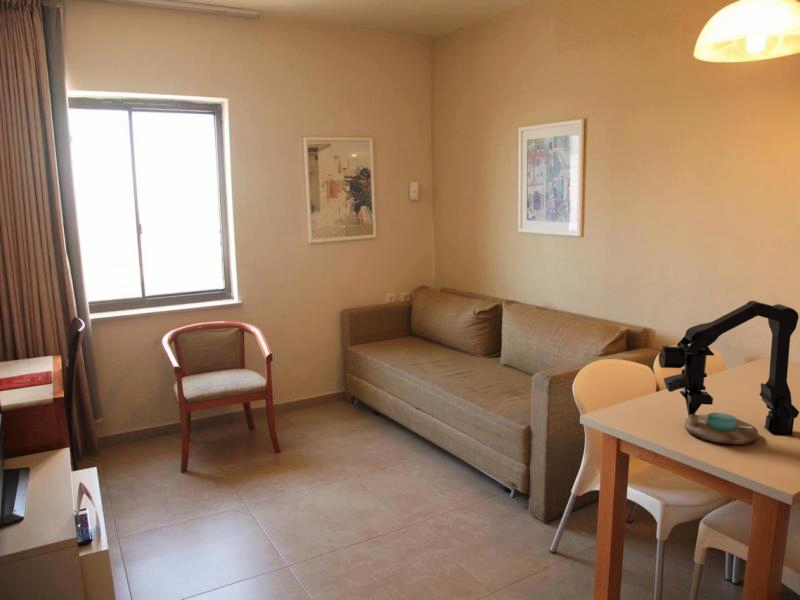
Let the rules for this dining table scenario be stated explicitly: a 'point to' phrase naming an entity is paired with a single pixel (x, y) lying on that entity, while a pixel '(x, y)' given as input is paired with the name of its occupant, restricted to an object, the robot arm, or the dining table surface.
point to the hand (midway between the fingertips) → (690, 416)
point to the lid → (721, 422)
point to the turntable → (739, 436)
